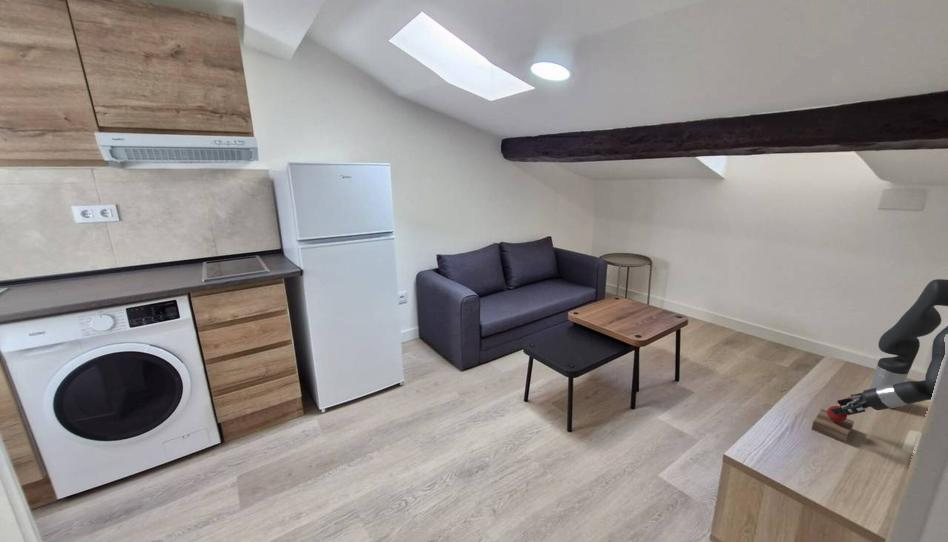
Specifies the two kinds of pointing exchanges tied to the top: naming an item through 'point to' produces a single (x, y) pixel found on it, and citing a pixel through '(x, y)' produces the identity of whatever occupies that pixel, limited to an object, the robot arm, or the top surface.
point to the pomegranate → (836, 417)
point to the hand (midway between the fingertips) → (836, 407)
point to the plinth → (832, 427)
